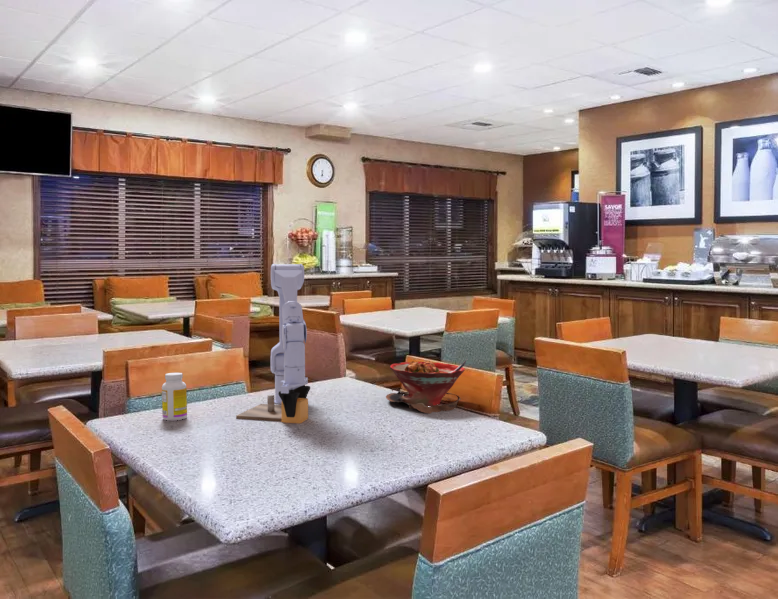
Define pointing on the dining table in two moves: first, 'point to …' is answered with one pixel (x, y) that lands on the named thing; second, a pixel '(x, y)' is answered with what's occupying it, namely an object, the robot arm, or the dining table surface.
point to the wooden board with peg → (263, 411)
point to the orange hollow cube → (297, 412)
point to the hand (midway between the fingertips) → (294, 414)
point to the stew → (426, 384)
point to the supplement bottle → (174, 397)
